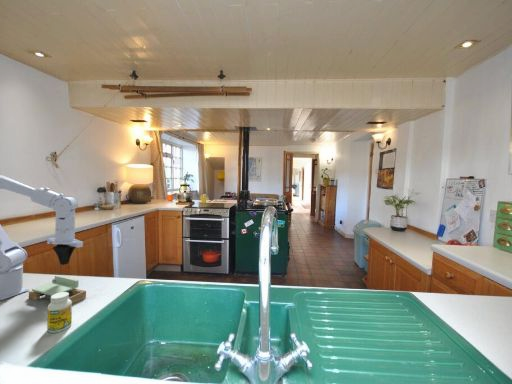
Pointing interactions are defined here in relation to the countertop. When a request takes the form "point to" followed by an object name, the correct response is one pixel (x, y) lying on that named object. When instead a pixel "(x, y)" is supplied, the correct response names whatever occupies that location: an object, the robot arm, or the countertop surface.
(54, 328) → the supplement bottle
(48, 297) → the gray rectangular block
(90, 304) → the countertop surface
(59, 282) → the cover
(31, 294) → the brown wooden frame
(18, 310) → the countertop surface
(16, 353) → the countertop surface
